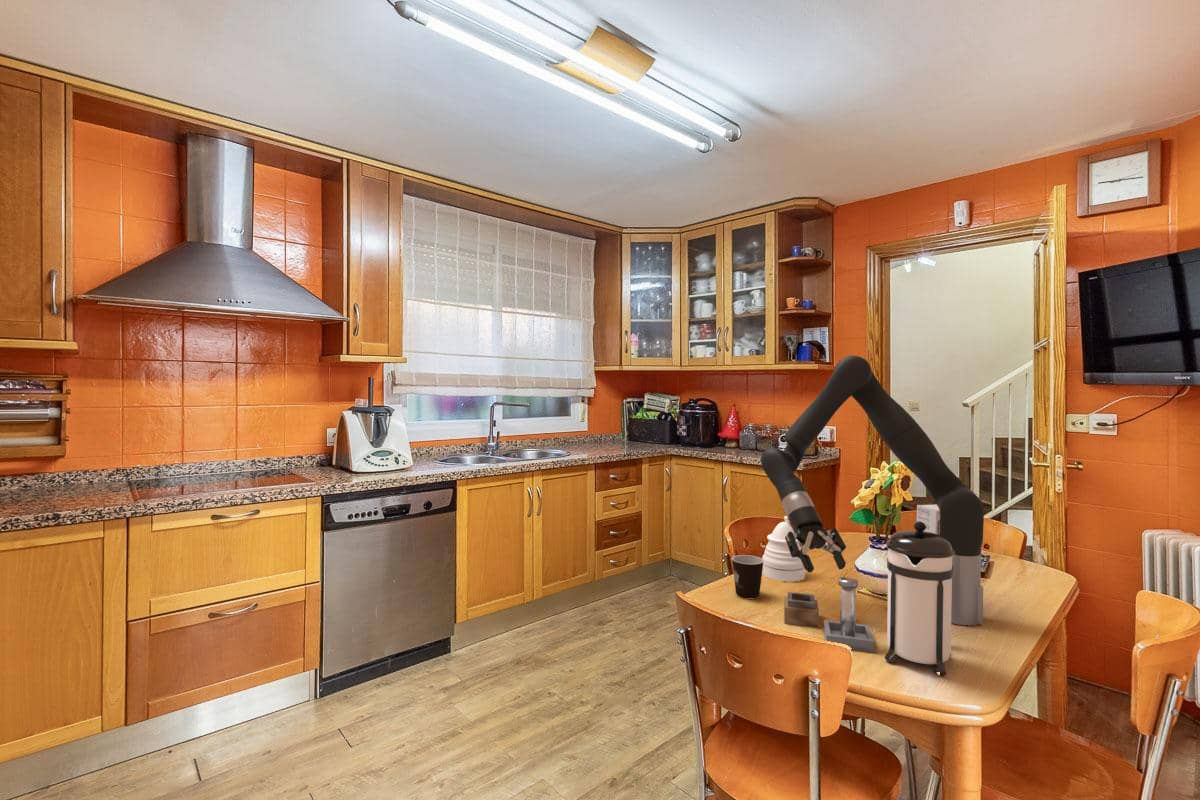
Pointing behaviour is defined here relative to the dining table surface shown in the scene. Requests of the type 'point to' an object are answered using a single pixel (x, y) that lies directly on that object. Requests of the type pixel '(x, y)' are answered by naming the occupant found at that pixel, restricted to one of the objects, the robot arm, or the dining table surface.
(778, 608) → the dining table surface
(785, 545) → the honey pot
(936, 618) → the coffee press
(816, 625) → the block
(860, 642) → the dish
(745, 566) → the coffee mug
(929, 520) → the supplement box
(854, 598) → the pin
